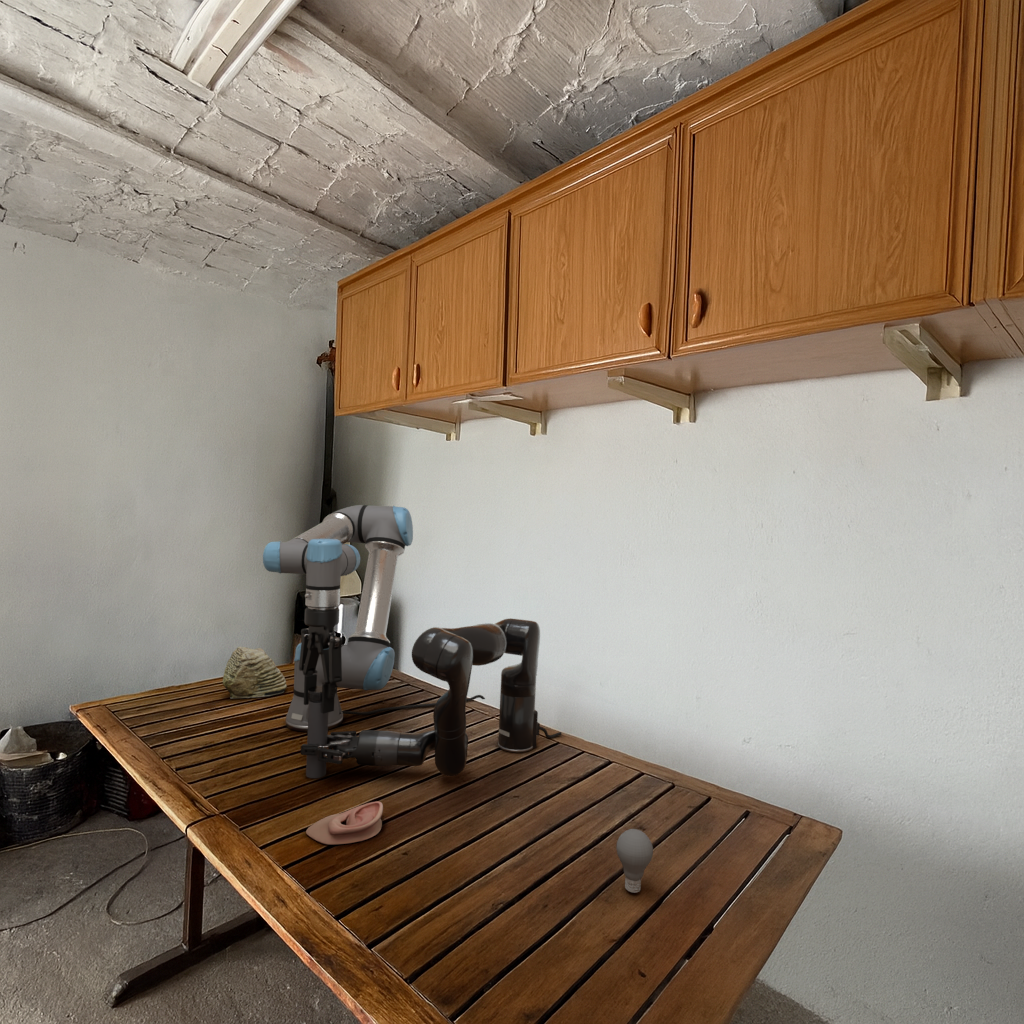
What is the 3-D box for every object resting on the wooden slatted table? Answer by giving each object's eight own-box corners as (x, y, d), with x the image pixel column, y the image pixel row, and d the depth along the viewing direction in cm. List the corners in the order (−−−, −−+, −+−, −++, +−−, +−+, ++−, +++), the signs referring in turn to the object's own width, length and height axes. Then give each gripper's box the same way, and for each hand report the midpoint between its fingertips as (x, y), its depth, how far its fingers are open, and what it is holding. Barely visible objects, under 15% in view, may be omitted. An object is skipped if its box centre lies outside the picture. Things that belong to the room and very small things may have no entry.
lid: (313, 693, 147) (313, 685, 147) (333, 695, 146) (333, 686, 146) (303, 700, 142) (304, 691, 142) (325, 702, 141) (325, 693, 141)
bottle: (324, 778, 143) (327, 695, 142) (304, 778, 142) (307, 695, 142) (327, 769, 147) (330, 689, 147) (307, 770, 146) (310, 689, 146)
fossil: (218, 695, 195) (220, 647, 195) (278, 685, 208) (279, 640, 207) (228, 703, 189) (230, 653, 188) (289, 692, 201) (290, 645, 201)
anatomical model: (298, 818, 116) (328, 791, 128) (297, 839, 116) (327, 810, 128) (365, 829, 114) (390, 800, 125) (364, 851, 114) (389, 820, 125)
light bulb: (610, 879, 108) (613, 822, 108) (644, 879, 109) (647, 822, 109) (619, 902, 102) (622, 840, 102) (655, 901, 103) (658, 840, 103)
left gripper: (285, 602, 148) (281, 700, 148) (331, 615, 134) (327, 723, 135) (314, 599, 153) (310, 693, 154) (361, 612, 140) (357, 715, 140)
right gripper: (386, 720, 151) (315, 717, 151) (373, 743, 137) (294, 740, 137) (385, 752, 152) (313, 749, 151) (372, 778, 137) (293, 774, 137)
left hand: (318, 707), depth 144 cm, fingers open, 7 cm apart
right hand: (305, 745), depth 144 cm, fingers closed on bottle, 4 cm apart
